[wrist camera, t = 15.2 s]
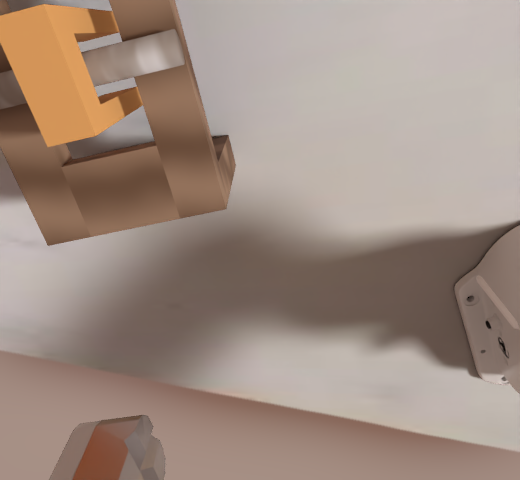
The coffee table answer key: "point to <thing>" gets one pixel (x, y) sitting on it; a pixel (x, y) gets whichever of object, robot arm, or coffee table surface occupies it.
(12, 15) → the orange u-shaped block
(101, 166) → the wooden table with hole
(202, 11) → the coffee table surface
